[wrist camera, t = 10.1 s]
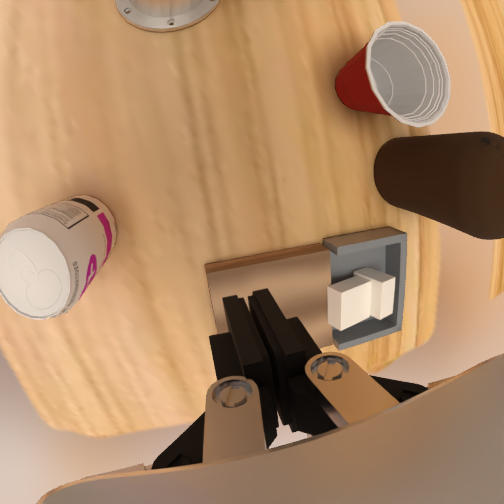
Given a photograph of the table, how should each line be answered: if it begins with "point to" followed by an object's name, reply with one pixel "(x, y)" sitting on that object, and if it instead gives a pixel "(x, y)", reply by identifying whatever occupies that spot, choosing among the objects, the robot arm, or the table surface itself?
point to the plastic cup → (397, 76)
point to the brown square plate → (278, 285)
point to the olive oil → (447, 179)
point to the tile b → (379, 291)
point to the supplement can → (54, 255)
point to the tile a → (349, 302)
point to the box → (376, 257)
